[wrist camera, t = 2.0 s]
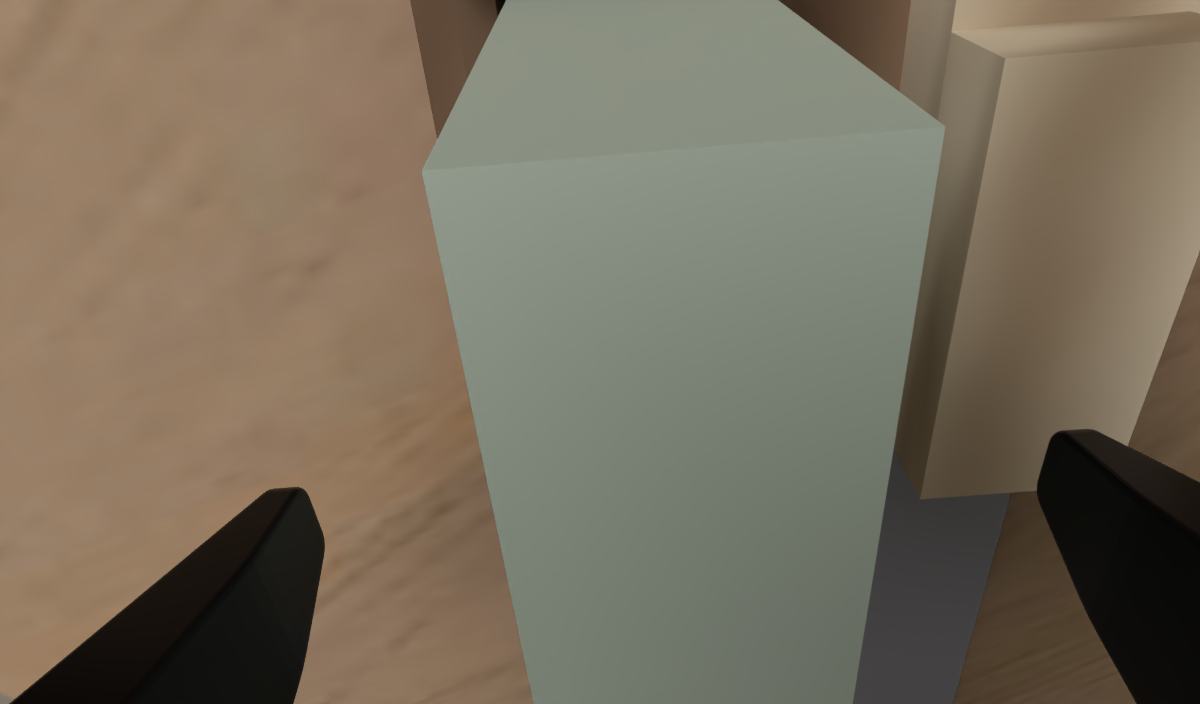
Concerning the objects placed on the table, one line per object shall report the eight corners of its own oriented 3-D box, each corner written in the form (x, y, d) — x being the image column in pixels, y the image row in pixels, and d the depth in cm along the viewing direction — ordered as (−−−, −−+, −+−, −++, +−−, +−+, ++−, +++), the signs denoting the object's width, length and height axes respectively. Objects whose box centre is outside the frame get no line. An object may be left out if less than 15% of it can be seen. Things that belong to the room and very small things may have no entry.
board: (706, -55, 13) (946, 126, 4) (708, 424, 18) (818, 915, 10) (525, -38, 13) (421, 170, 5) (580, 434, 18) (581, 930, 10)
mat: (1020, 422, 20) (1028, 432, 19) (944, 705, 26) (949, 716, 26) (547, 458, 20) (546, 468, 20) (588, 728, 26) (588, 740, 26)
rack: (1180, -172, 13) (1469, -183, 9) (1024, 407, 19) (1147, 560, 15) (404, -99, 13) (321, -77, 9) (505, 446, 20) (485, 607, 16)
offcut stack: (1159, -62, 13) (1335, -35, 10) (1037, 382, 18) (1131, 491, 15) (916, -40, 13) (1017, -7, 10) (860, 395, 18) (918, 507, 15)
